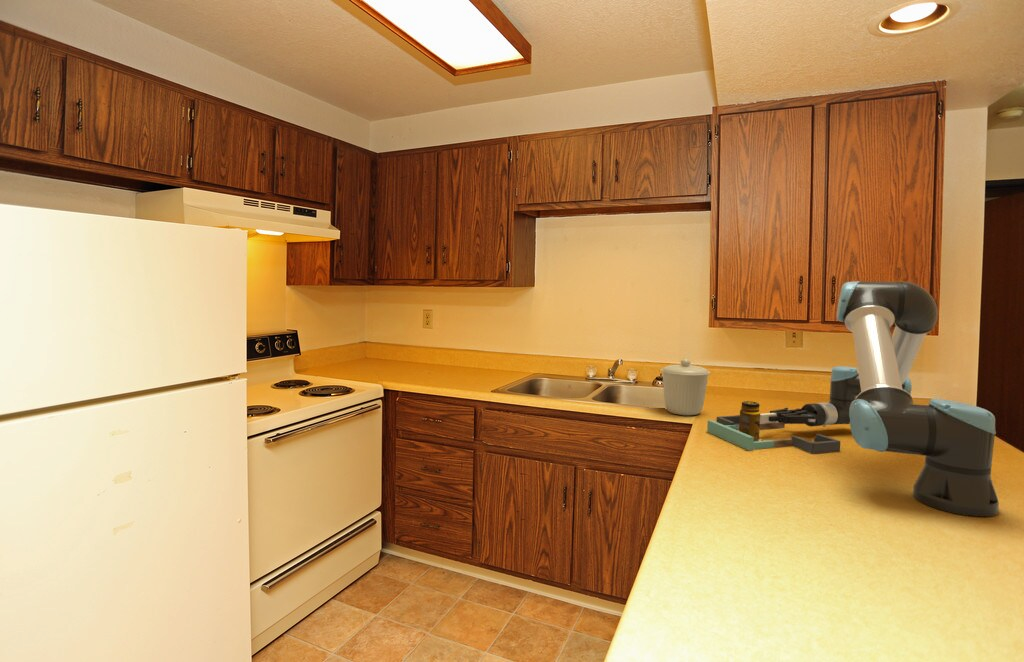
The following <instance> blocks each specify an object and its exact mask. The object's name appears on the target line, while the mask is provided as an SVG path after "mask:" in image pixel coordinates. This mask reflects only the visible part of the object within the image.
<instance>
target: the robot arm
mask: <svg viewBox="0 0 1024 662" xmlns="http://www.w3.org/2000/svg"><path fill="white" fill-rule="evenodd" d="M938 315H939V312H938V306H937V303H936V301H935V299H934V297H933V296H932V294H931V293H930V292H929V291H927V290H926V289H925V288H924V287H922V286H920V285H918V284H916V283H913V282H910V281H872V280H871V281H870V280H869V281H868V280H867V281H865V280H857V281H847V282H844V284H842V285H841V289H840V293H839V298H838V304H837V310H836V320H837V322H838V321H839V322H841V323H844V325H845V327H846V329H847V330H848V331H850V332H851V333H852V337H853V339H852V340H853V344H854V351H855V358H856V365H857V368H856V367H852V366H845V365H844V366H843V365H842V366H841V365H840V366H834V367H833V368H832V369H831V372H830V373H831V376H830V380H829V381H830V388H829V389H830V390H829V400H828V401H829V402H815V403H805V404H804V405H803V406H802V407H801V408H794V409H790V408H789V407H784V408H780V409H774V410H770V411H769V412H768V413H760V423H771V422H773V423H775V422H779V423H781V422H783V423H784V424H785V425H801V424H802V425H806V426H808V427H820V426H822V427H825V428H826V427H827V426H832V425H833V426H834V425H849V427H850V433H851V435H852V439H854V442H855V443H856V444H857V446H859V447H861V448H862V449H866V450H871V451H872V450H873V451H876V452H881V453H883V452H889V453H897V454H906V455H907V454H908V455H914V456H915V455H917V456H925V458H924V466H923V467H922V469H921V471H920V473H919V475H918V477H917V479H916V480H915V482H914V485H913V491H912V495H913V497H914V499H915V500H917V501H919V502H921V503H923V504H924V505H927V506H929V507H933V508H934V509H938V510H940V511H943V512H948V513H952V514H956V513H958V514H957V515H962V514H965V515H964V516H968V515H973V516H972V517H978V516H987V517H993V516H992V515H994V516H997V515H998V513H999V504H1000V501H999V499H998V496H997V493H996V489H995V485H994V483H993V480H992V477H991V476H992V466H993V455H994V446H995V445H994V444H995V436H996V434H997V431H996V418H995V417H996V416H995V415H994V414H993V413H992V412H991V411H989V410H987V409H985V408H982V407H980V406H976V405H974V404H973V405H972V404H969V403H964V402H960V401H955V400H950V399H943V398H931V399H930V401H928V404H927V405H925V404H916V403H914V400H913V397H912V395H911V394H912V392H911V391H912V382H911V379H910V378H909V377H908V376H909V374H910V373H911V370H912V368H913V365H914V362H915V361H916V358H917V356H918V354H919V351H920V350H921V348H922V344H923V343H924V340H925V338H926V335H927V334H928V333H930V332H932V331H933V330H934V328H935V326H936V324H937V321H938ZM893 325H895V326H894V329H893V333H891V328H892V326H893Z"/></svg>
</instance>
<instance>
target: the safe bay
mask: <svg viewBox="0 0 1024 662" xmlns="http://www.w3.org/2000/svg"><path fill="white" fill-rule="evenodd" d="M706 427H707V428H706V429H707V431H706V432H707V434H708V433H709V434H711V435H713V436H715V437H718V438H719V439H722V440H724V441H726V442H728V443H731V444H733V445H735V446H738V447H740V448H742V449H745V450H746V451H754V450H762V448H764V449H772V448H773V449H774V441H772V440H773V439H769V440H768V439H767V440H764V441H755V442H754V437H752V436H750V435H747V434H745V433H742V432H740V431H739V430H735V425H732V426H731V425H723V424H720V423H718V422H716V420H712V419H709V420H707V426H706Z"/></svg>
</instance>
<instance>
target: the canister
mask: <svg viewBox="0 0 1024 662" xmlns="http://www.w3.org/2000/svg"><path fill="white" fill-rule="evenodd" d="M660 372H661V373H662V385H663V387H662V388H663V398H664V406H665V408H666V410H667V412H669V413H671V414H674V415H677V416H696V415H699V414H700V413H701V412H702V411H703V408H704V403H705V399H706V392H707V385H708V379H709V375H711V371H709V370H708V368H707V369H706V368H705V367H703V366H698V365H694V364H693V365H692V364H691V360H690V359H689V358H682V359H681V360H680V364H670V365H666V366H663V367H662V368H661V369H660Z"/></svg>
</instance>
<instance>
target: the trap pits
mask: <svg viewBox="0 0 1024 662" xmlns="http://www.w3.org/2000/svg"><path fill="white" fill-rule="evenodd" d="M739 421H740V414H738V415H737V414H736V415H723V416H716V420H715V422H718V423H720V424H723V425H731V426H732V425H735V430H737V431H739ZM815 437H817V438H816V439H815V440H816V441H815V442H814V441H810V440H807V439H805V438H803V437H800V436H796V435H791V438H790V439H792V440H793V445H792V446H791V447H794V448H795V449H800V450H802V451H804V452H806V453H809V454H821V453H822V454H825V453H833V452H834V453H835V452H840V451H841V440H838V439H835V438H832V437H829V436H826V435H824V434H821V433H815Z"/></svg>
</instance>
